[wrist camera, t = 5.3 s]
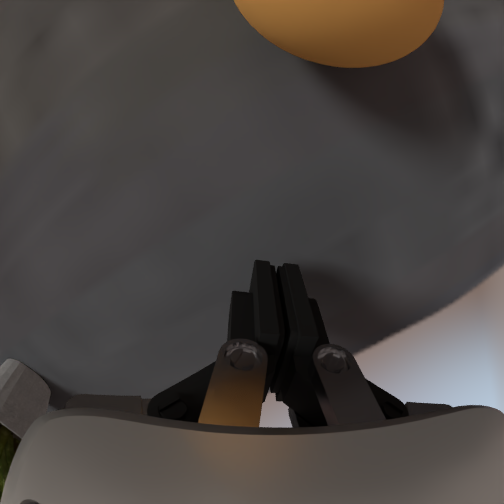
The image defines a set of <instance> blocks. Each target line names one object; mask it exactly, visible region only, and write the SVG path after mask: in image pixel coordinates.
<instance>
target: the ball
mask: <svg viewBox="0 0 504 504" xmlns="http://www.w3.org/2000/svg"><path fill="white" fill-rule="evenodd" d="M234 2H235V4H236V6H237V7H238V9H239V10H240V12H241V14H242V15H243V16H244V17H245V19H246V20H247V21H248V22H249V23H250V25H251V26H253V27H254V28H255V29H256V30H257V31H258V32H259V33H260V34H261V35H262V36H263V37H265V38H266V39H267V40H269V41H270V42H271V43H273V44H274V45H276V46H278V47H279V48H281V49H283V50H285V51H287V52H289V53H291V54H292V55H295V56H297V57H300V58H302V59H305V60H308V61H312V62H315V63H319V64H323V65H328V66H333V67H344V68H362V67H371V66H378V65H382V64H386V63H389V62H392V61H395V60H397V59H400V58H402V57H405V56H406V55H408V54H409V53H411V52H412V51H414V50H415V49H417V48H418V47H420V46H421V45H422V44H423V43H424V42H425V41H426V40H427V39H428V37H429V36H430V35H431V34H432V32H433V31H434V30H435V28H436V26H437V24H438V22H439V20H440V17H441V14H442V11H443V7H444V0H234Z"/></svg>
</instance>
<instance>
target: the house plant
mask: <svg viewBox="0 0 504 504" xmlns="http://www.w3.org/2000/svg"><path fill="white" fill-rule="evenodd" d="M50 395H51V391H50V389H49V387H48V385H47V384H46V383H45V381H44V380H43V379H42V378H41V377H40V376H39V375H38V374H36V373H35V372H34V371H33V370H31V369H30V368H29V367H27V366H26V365H24V364H23V363H21V362H19V361H17V360H15V359H7V360H6V361H5V362H4V363H3V364H2V365H1V367H0V502H1V498H2V493H3V489H4V485H5V481H6V478H7V475H8V472H9V469H10V466H11V463H12V461H13V458H14V456H15V453H16V451H17V449H18V446H19V444H20V442H21V440H22V438H23V436H24V435H25V433H26V431H27V430H28V428H29V427H30V426H31V424H32V423H33V422H34V421H35V420H36V419H37V418H39V417H40V416H42V415H43V414H46V412H47V408H48V403H49V399H50Z"/></svg>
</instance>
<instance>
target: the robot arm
mask: <svg viewBox="0 0 504 504" xmlns="http://www.w3.org/2000/svg"><path fill="white" fill-rule="evenodd" d="M269 387H270V391H271V393H275V394H276V401H283V403H285V404H286V405H287V406H288V407H289V409H288V410H289V417H290V420H291V424H292V427H293V428H268V427H267V428H265V427H264V428H263V427H259V423H260V416H261V409H262V403H263V402H265V399H266V396H267V393H268V390H269ZM0 504H504V414H503V413H502V412H501V411H499V410H497V409H495V408H492V407H488V406H482V405H467V406H458V407H451V406H450V405H446V404H431V403H415V402H414V403H413V402H407V403H406V404H405V405H404V404H403V402H401V401H400V400H399V399H397V398H396V397H394V396H392V395H391V394H389V393H388V392H386V391H384V390H383V389H381V388H379V387H378V386H376V385H375V384H373V383H372V382H370V381H368V380H367V379H365V377H364V375H363V374H362V372H361V370H360V368H359V366H358V364H357V362H356V360H355V358H354V357H353V355H352V354H351V353H350V352H349V351H348V350H347V349H345V348H343V347H341V346H339V345H335V344H330V343H329V340H328V337H327V333H326V330H325V327H324V323H323V320H322V317H321V314H320V311H319V307H318V304H317V301H316V300H315V299H311V298H308V296H307V293H306V289H305V286H304V282H303V279H302V275H301V272H300V269H299V266H298V265H296V264H288V263H284V264H283V266H282V267H281V266H278V268H277V272H276V271H275V266H273V265H270V262H269V261H261V260H255V262H254V267H253V273H252V279H251V285H250V290H249V293H248V292H239V291H232V297H231V304H230V312H229V323H228V338H227V342H226V343H225V344H223V345H222V346H221V348H220V350H219V353H218V356H217V359H216V361H215V362H214V363H212V364H210V365H209V366H207V367H205V368H203V369H202V370H200V371H198V372H196V373H195V374H193V375H191V376H189V377H188V378H186V379H184V380H182V381H181V382H179V383H177V384H175V385H173V386H172V387H170V388H168V389H166V390H164V391H162V392H161V393H159V394H157V395H156V396H154V397H153V398H152V399H141V396H116V395H93V394H79V395H76V396H74V397H72V398H70V400H69V401H68V402H67V403H66V406H65V409H61V410H57V411H52V412H49V413H46V414H43V415H42V416H40V417H39V418H37V419H36V420H35V421H34V422H33V423H32V424H31V426H30V427H29V428H28V430H27V431H26V433H25V435H24V436H23V438H22V440H21V442H20V444H19V446H18V449H17V451H16V453H15V456H14V458H13V461H12V463H11V466H10V469H9V472H8V475H7V478H6V481H5V485H4V489H3V493H2V498H1V502H0Z"/></svg>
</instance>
